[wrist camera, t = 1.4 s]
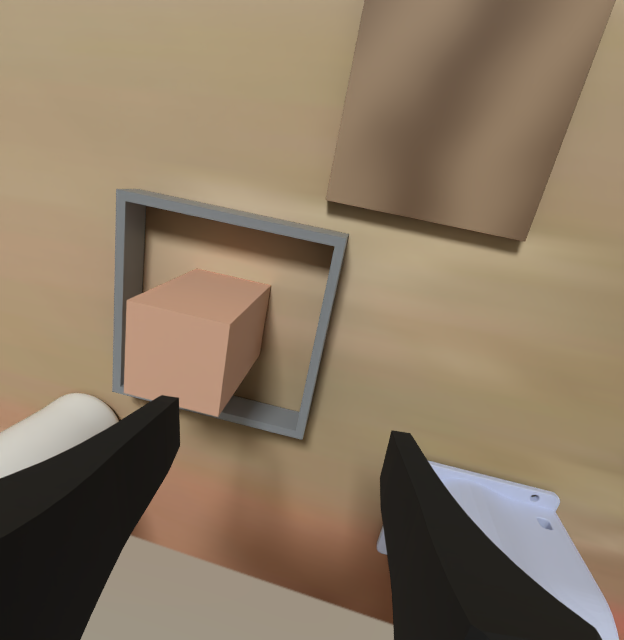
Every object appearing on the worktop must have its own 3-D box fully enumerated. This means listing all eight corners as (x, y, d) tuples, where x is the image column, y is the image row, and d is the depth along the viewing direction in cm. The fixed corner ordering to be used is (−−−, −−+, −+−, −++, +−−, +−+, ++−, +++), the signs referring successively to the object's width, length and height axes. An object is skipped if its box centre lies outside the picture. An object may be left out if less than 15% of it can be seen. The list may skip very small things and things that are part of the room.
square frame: (348, 234, 21) (346, 238, 19) (307, 420, 25) (302, 439, 23) (138, 188, 22) (116, 188, 20) (131, 377, 26) (112, 391, 24)
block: (271, 285, 23) (230, 324, 16) (259, 354, 24) (218, 417, 17) (196, 268, 23) (126, 300, 16) (190, 338, 24) (123, 392, 18)
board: (606, 4, 16) (617, -5, 16) (519, 239, 20) (525, 241, 19) (373, -34, 17) (373, -45, 16) (327, 199, 21) (325, 200, 20)
